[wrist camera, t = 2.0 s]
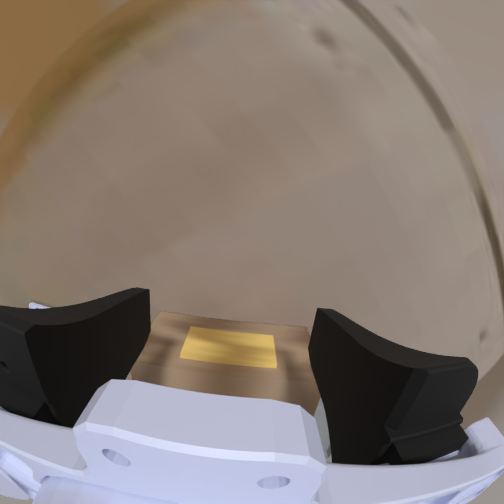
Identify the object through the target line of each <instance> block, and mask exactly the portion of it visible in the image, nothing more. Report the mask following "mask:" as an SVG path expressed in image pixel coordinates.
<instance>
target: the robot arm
mask: <svg viewBox="0 0 504 504" xmlns="http://www.w3.org/2000/svg"><path fill="white" fill-rule="evenodd" d="M150 332H151V322H150V293H149V289H143V288H131V289H127V290H124V291H121V292H117V293H114V294H111V295H108V296H105V297H102V298H99V299H95V300H92V301H88V302H85V303H81V304H76V305H70V306H64V307H55V308H50V307H46V306H43V305H40V304H37V303H34V302H31V303H30V304H29V308H15V307H8V306H1V305H0V495H2V496H7V497H11V498H16V499H21V500H30V499H31V498H32V499H33V500H34V501H33V503H32V504H466V503H468V502H469V501H471V500H473V499H474V498H476V497H477V496H478V495H479V494H481V493H482V492H483V491H484V490H485V489H486V488H487V487H488V486H489V485H491V483H493V482H494V481H495V480H496V479H497V478H498V477H499V476H500V475H501V474H502V473H503V472H504V437H503V436H502V434H501V433H500V432H499V430H498V429H497V428H496V427H495V426H494V424H493V423H492V422H491V420H490V419H489V418H488V417H487V418H484V419H482V420H480V421H477V422H475V423H473V424H471V425H469V426H467V427H466V428H465V429H464V430H463V429H462V427H461V426H460V424H461V423H462V422H463V417H462V416H461V415H460V411H461V410H462V408H463V407H464V405H465V404H466V402H467V400H468V399H469V397H470V395H471V394H472V392H473V390H474V388H475V386H476V383H477V379H478V369H477V367H476V365H474V364H473V363H472V362H471V361H470V360H469V359H468V358H465V357H453V356H443V355H436V354H431V353H426V352H422V351H418V350H414V349H411V348H408V347H404V346H402V345H399V344H396V343H394V342H391V341H389V340H387V339H384V338H382V337H380V336H378V335H376V334H374V333H372V332H371V331H369V330H367V329H365V328H363V327H362V326H360V325H358V324H357V323H355V322H353V321H352V320H350V319H349V318H347V317H345V316H344V315H342V314H340V313H338V312H337V311H335V310H332V309H324V308H317V312H316V316H315V320H314V325H313V329H312V333H311V337H310V342H309V346H308V352H309V359H310V365H311V368H312V372H313V375H314V378H315V381H316V384H317V387H318V390H319V393H320V396H321V399H322V402H323V406H324V409H325V414H326V419H327V425H328V431H329V439H330V447H331V457H332V463H328V462H326V460H325V456H324V452H323V448H322V444H321V440H320V435H319V431H318V427H317V423H316V419H315V418H314V417H313V416H311V415H310V414H309V413H308V412H307V411H306V410H304V409H303V408H302V407H301V406H300V405H295V404H290V403H286V402H281V401H277V400H272V399H259V398H245V397H234V396H224V395H216V394H208V393H201V392H194V391H188V390H182V389H176V388H170V387H165V386H160V385H155V384H150V383H146V382H141V381H137V380H125V379H126V377H127V375H128V374H129V372H130V370H131V369H132V367H133V365H134V364H135V362H136V360H137V359H138V357H139V355H140V354H141V352H142V350H143V349H144V347H145V344H146V342H147V340H148V337H149V334H150Z"/></svg>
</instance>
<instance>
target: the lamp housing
mask: <svg viewBox="0 0 504 504" xmlns="http://www.w3.org/2000/svg"><path fill="white" fill-rule="evenodd" d="M309 342H310V335H309V332H308V329H307V327H298V326H284V325H271V324H260V323H249V322H239V321H230V320H221V319H213V318H205V317H197V316H190V315H183V314H176V313H169V312H163V311H160V313H159V314H158V316H157V317H156V319H155V320H154V322H153V323H152V325H151V332H150V334H149V337H148V340H147V342H146V344H145V347H144V349H143V350H142V352H141V354H140V355H139V357H138V359H137V360H136V362H135V364H134V365H133V367H132V369H131V375H132V380H137V381H141V382H146V383H150V384H155V385H160V386H165V387H170V388H176V389H182V390H188V391H194V392H201V393H208V394H216V395H224V396H234V397H245V398H259V399H272V400H277V401H281V402H286V403H290V404H295V405H300V406H301V407H302V408H303V409H304V410H306V411H307V412H308V413H309V414H310V415H311V416H314V414H315V411H316V409H317V406H318V403H319V401H320V398H321V396H320V393H319V390H318V387H317V384H316V381H315V378H314V375H313V372H312V368H311V365H310V359H309V352H308V346H309Z"/></svg>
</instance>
